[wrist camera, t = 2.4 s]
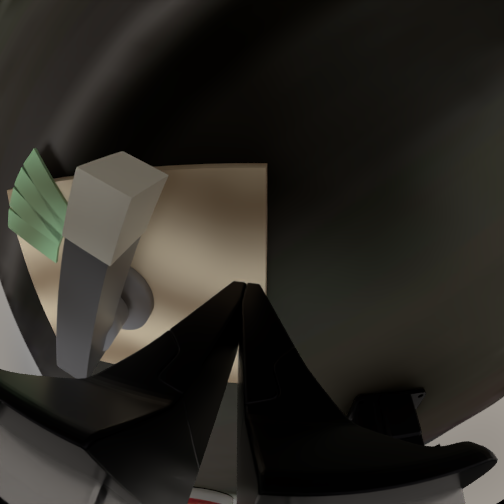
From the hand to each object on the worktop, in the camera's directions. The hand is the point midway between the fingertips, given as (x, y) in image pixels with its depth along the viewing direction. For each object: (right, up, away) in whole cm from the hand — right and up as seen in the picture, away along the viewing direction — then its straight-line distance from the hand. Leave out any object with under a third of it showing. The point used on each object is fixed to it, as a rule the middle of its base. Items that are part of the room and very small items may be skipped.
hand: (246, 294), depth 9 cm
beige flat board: (-8, 0, +7) cm, 11 cm away
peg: (-6, +1, +4) cm, 7 cm away
